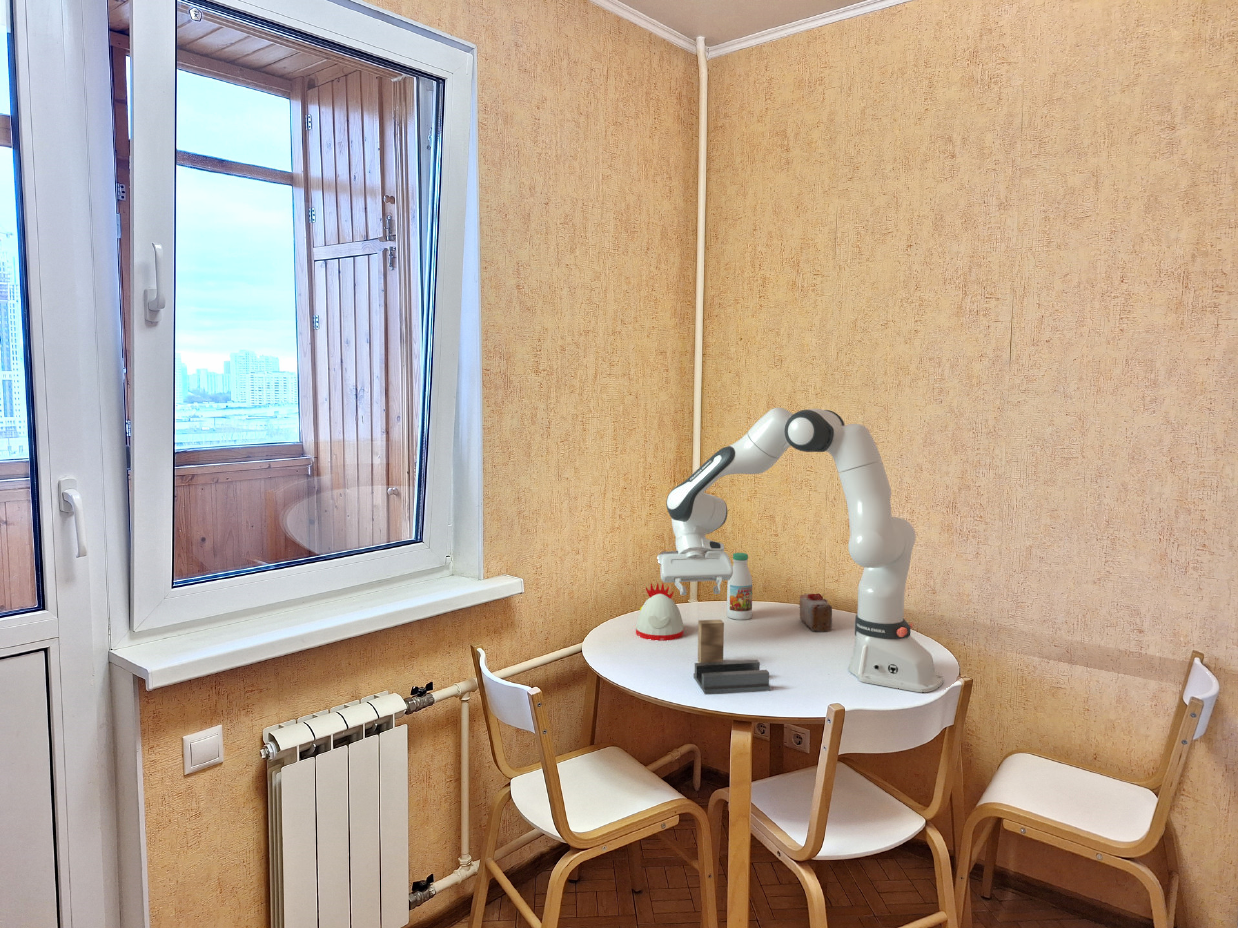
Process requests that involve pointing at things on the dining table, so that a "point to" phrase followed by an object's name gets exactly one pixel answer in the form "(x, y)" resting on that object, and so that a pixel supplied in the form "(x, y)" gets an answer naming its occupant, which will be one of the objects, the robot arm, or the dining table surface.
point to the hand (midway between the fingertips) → (700, 593)
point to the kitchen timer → (659, 617)
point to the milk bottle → (739, 589)
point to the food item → (816, 612)
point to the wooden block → (710, 640)
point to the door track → (731, 677)
